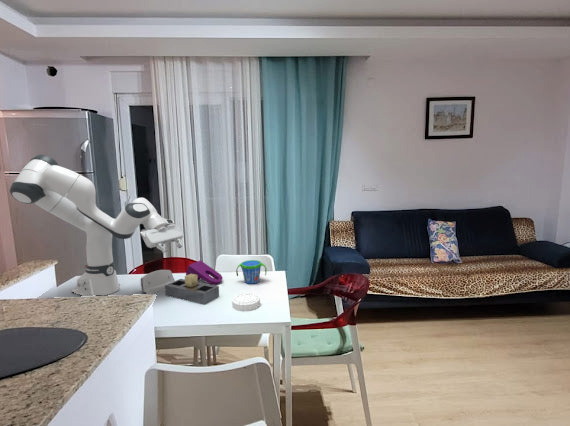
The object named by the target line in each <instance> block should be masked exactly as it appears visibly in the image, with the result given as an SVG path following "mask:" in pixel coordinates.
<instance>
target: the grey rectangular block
mask: <svg viewBox="0 0 570 426" xmlns="http://www.w3.org/2000/svg"><path fill="white" fill-rule="evenodd" d="M164 291H165V292H164V293H165V296H166V295H168V296H167V297H170V296H171V297H172V298H175V299H179V298H180V299H179V300H183V299H184V301H187V300H188V301H189V302H193V303H196V304H200V305H201V304H202V305H207V304H208V303H210V302H212V301H214V300H216V299H217V298H219V297H220V286H219V285H211V284H209V283H206V282H205V283H204V282H200V281H198V286H197V287H195V288H192V289H191V288H186V287H185V278H184V279H183V278H180V279H177V280H175V281H174V282H172V283H169V284H167V285H165V289H164Z"/></svg>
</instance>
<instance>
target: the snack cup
mask: <svg viewBox="0 0 570 426" xmlns="http://www.w3.org/2000/svg"><path fill="white" fill-rule="evenodd" d="M262 266H263V267H264V268H265V270H264V272H265V274H264V276H267V267H266V264H265V263H263V262H262V261H261V260H257V259H256V260H255V259H251V260H245V261H242V262H241V263H240V264H238V265H237V267H236V270H235V272H236V276H237V277H239V273H238V272H239V271H238V269H239V268H241V270H242V275H243V280H244V281H243V282H244V283H246V284H249V285H252V284H257V283H259V282H260V278H261V277H260V275H261V267H262Z"/></svg>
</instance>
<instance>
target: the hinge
mask: <svg viewBox="0 0 570 426" xmlns="http://www.w3.org/2000/svg"><path fill="white" fill-rule="evenodd" d="M174 281H176V280H175V277H174V275H173V272H172V271H171V269H159V270H157V269H156V270H155V271H151V272H149V273H146V274H144V275H143V276H142V277H141V278H140V288H141V289H140V290H141V293H142V294H143V293H146V295H147V294H148V295H151V294H150V293H152V294H154V293H157V291H158V292H160V291H165V285H167V284H169V283H172V282H174Z"/></svg>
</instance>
